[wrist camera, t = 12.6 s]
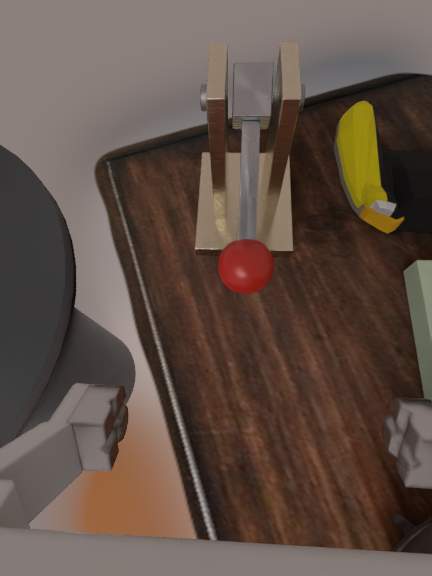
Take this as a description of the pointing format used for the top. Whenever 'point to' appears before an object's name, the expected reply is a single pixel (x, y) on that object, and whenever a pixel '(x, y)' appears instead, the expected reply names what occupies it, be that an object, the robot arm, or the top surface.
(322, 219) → the top surface
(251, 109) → the switch lever
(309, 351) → the top surface
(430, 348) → the button box
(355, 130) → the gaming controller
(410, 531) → the alarm clock
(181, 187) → the top surface
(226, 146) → the switch bracket
